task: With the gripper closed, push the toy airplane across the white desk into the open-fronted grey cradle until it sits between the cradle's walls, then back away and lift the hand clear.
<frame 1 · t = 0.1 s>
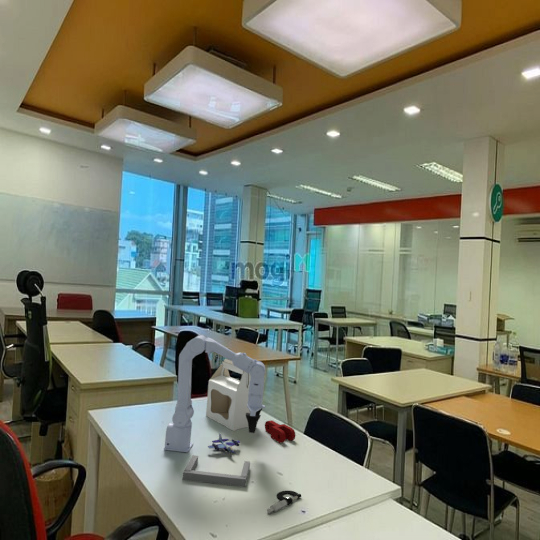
hand: (252, 428, 156), 10 cm above the table, tool pointing down, fingers open, 7 cm apart
gable box: (229, 420, 191), on the table
toy airplane: (225, 453, 156), on the table
cradle: (219, 469, 142), on the table
mechanical linkage: (277, 437, 176), on the table
micrometer: (279, 503, 124), on the table
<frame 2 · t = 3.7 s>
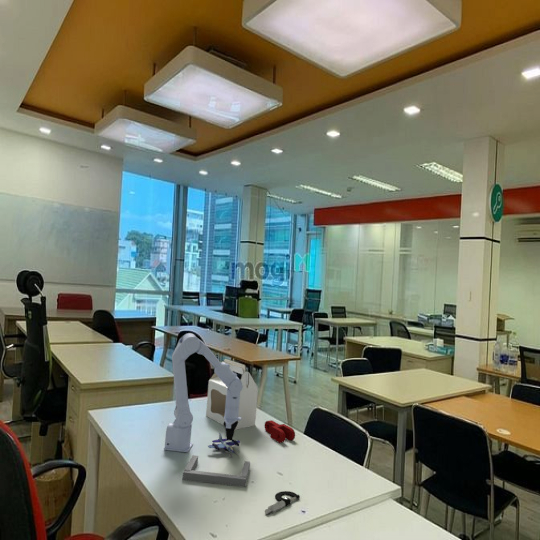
hand: (229, 439, 163), 2 cm above the table, tool pointing down, fingers closed
toy airplane: (225, 453, 155), on the table, touching gripper
everything else where it was.
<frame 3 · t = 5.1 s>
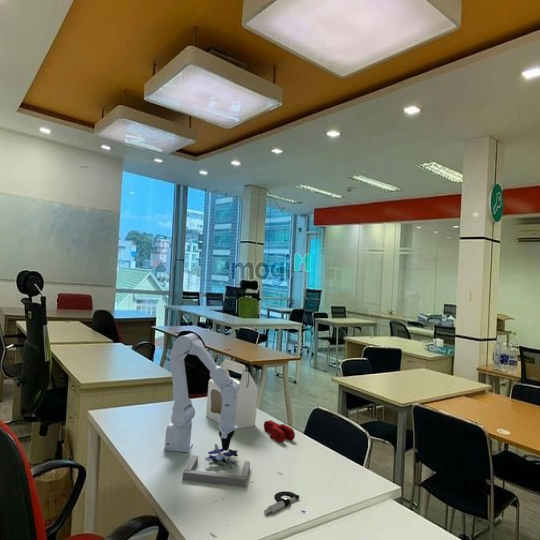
hand: (225, 450, 153), 2 cm above the table, tool pointing down, fingers closed
toy airplane: (223, 464, 146), on the table, touching gripper
everything else where it was.
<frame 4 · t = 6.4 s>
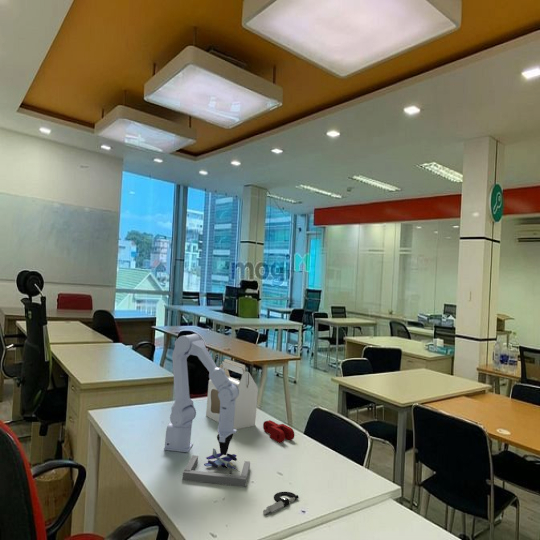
hand: (223, 454, 150), 2 cm above the table, tool pointing down, fingers closed
toy airplane: (223, 469, 142), on the table, touching gripper
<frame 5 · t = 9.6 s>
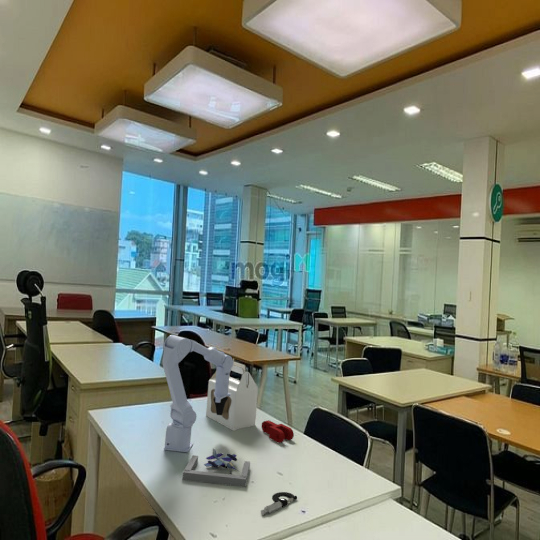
hand: (219, 414, 170), 9 cm above the table, tool pointing down, fingers closed
toy airplane: (223, 470, 142), on the table
at the end: toy airplane inside the target area on the cradle (1.4 cm from its centre), point 0.0 cm above the cradle's base; toy airplane tilted 0° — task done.
